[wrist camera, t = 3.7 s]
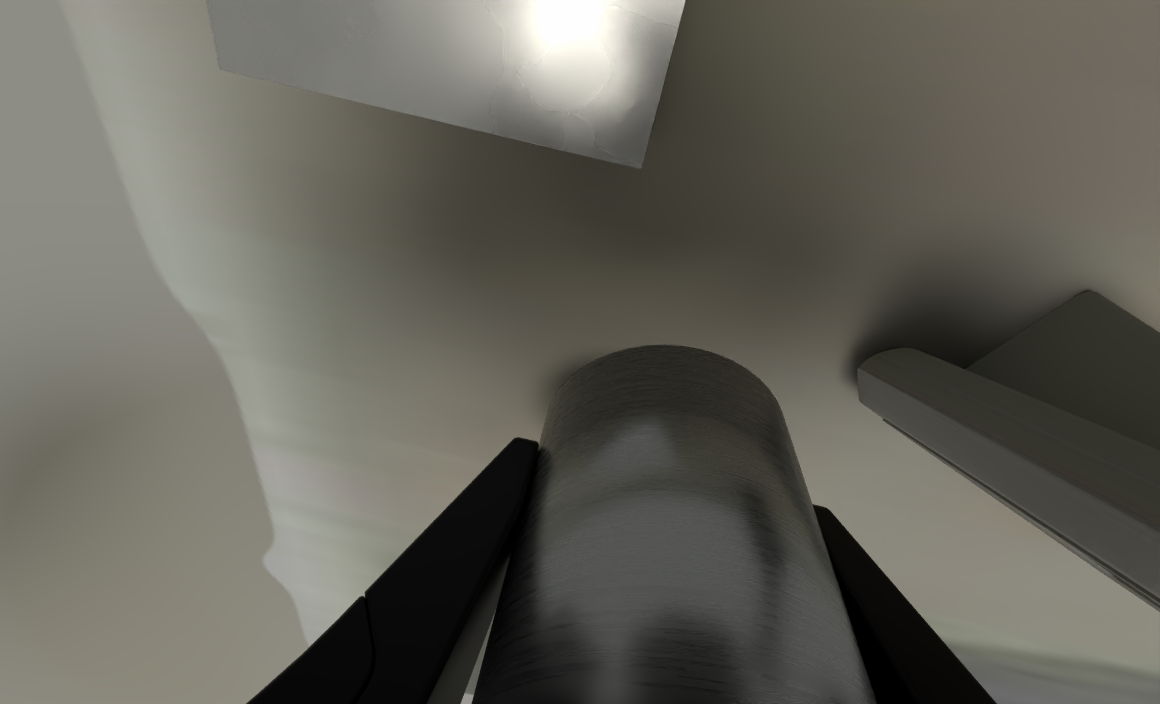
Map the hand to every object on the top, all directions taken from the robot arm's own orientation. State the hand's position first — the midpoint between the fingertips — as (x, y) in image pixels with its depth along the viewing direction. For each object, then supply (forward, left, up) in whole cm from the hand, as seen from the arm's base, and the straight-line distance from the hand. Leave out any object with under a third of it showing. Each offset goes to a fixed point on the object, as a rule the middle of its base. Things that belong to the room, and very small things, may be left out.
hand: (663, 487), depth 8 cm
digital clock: (-16, +3, -10) cm, 19 cm away
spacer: (0, 0, -1) cm, 1 cm away
